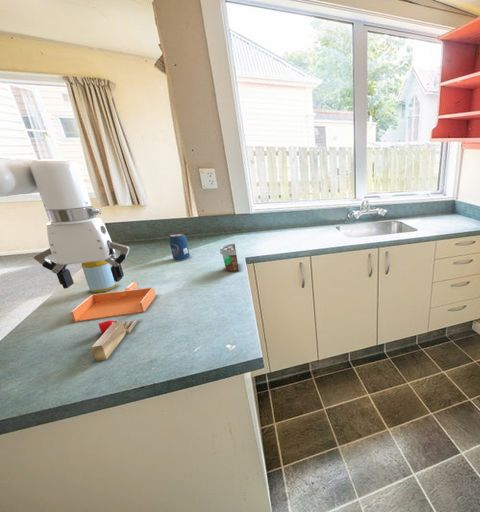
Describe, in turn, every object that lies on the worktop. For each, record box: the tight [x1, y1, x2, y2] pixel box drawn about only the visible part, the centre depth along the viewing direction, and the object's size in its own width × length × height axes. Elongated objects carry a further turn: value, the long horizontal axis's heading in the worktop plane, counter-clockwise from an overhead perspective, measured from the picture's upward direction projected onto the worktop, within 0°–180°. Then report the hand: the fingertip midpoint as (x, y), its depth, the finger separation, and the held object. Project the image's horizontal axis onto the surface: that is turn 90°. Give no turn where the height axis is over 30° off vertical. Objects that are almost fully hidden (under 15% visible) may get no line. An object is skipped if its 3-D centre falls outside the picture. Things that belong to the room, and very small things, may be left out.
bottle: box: [81, 260, 116, 294], centre depth 107 cm, size 7×7×15 cm
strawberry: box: [98, 319, 118, 336], centre depth 82 cm, size 3×3×4 cm
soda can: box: [168, 233, 191, 262], centre depth 142 cm, size 7×7×12 cm
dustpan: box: [70, 281, 156, 323], centre depth 100 cm, size 22×17×3 cm
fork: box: [91, 319, 138, 362], centre depth 78 cm, size 4×18×4 cm, turn 22°
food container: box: [219, 243, 240, 273], centre depth 129 cm, size 12×6×10 cm, turn 27°
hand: (94, 283), depth 74 cm, fingers open, 9 cm apart
